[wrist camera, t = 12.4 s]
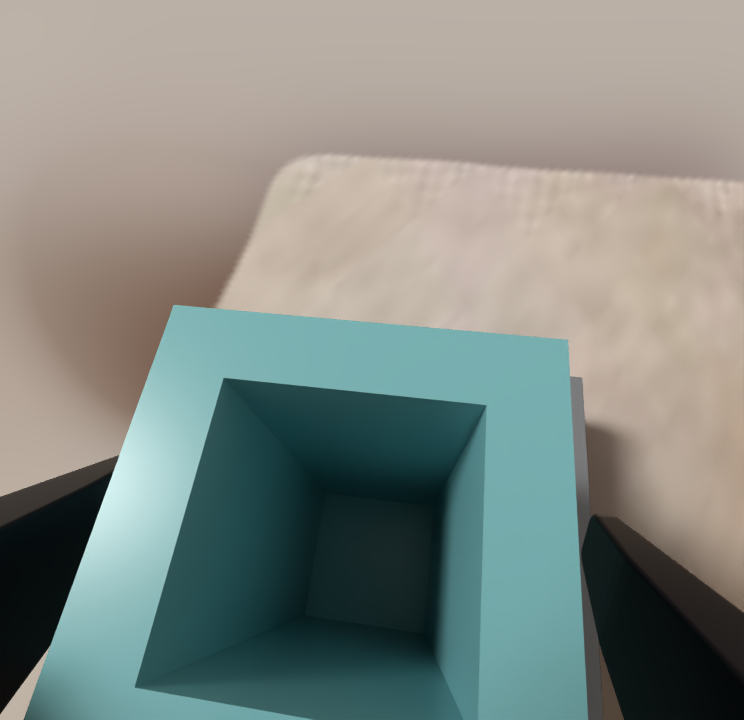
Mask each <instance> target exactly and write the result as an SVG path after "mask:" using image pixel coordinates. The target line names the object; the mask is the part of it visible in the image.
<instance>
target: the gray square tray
mask: <svg viewBox="0 0 744 720" xmlns="http://www.w3.org/2000/svg"><path fill="white" fill-rule="evenodd" d="M570 388H571V407H572V426H573V444H574V463H575V482H576V501H577V519H578V538H579V557H580V575H581V594H582V613H583V631H584V650H585V669H586V687H587V706H588V720H603V706H602V689H601V673H600V657H599V641H598V635H597V631H596V626H595V622H594V617H593V612H592V608H591V603H590V598H589V593H588V589H587V584H586V579H585V575H584V570H583V565H582V559H581V551H582V545H583V542H584V538H585V534H586V531H587V527H588V523H589V520H590V518H591V512H590V496H589V480H588V464H587V448H586V432H585V416H584V400H583V384H582V378H580V377H570Z"/></svg>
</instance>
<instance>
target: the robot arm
mask: <svg viewBox="0 0 744 720" xmlns="http://www.w3.org/2000/svg"><path fill="white" fill-rule="evenodd" d="M118 458H119V455H118V456H115V457H113V458H110V459H107V460H104V461H101V462H98V463H95V464H93V465H90V466H87V467H84V468H81V469H78V470H76V471H73V472H70V473H67V474H64V475H61V476H58V477H56V478H53V479H50V480H47V481H44V482H41V483H39V484H36V485H33V486H30V487H27V488H24V489H21V490H19V491H16V492H13V493H10V494H7V495H4V496H1V497H0V714H1V712H2V711H3V710H4V708H5V707H6V706H7V704H8V703H9V701H10V700H11V698H12V697H13V696H14V695H15V693H16V692H17V690H18V689H19V688H20V686H21V685H22V684H23V682H24V681H25V680H26V678H27V677H28V675H29V674H30V673H31V671H32V670H33V669H34V667H35V666H36V664H37V663H38V662H39V660H40V659H41V658H42V656H43V655H44V653H45V652H46V651H47V649H48V648H49V647H50V645H51V643H52V640H53V637H54V635H55V632H56V629H57V626H58V624H59V621H60V618H61V615H62V613H63V610H64V607H65V604H66V602H67V599H68V596H69V593H70V591H71V588H72V585H73V582H74V580H75V577H76V574H77V571H78V568H79V566H80V563H81V560H82V557H83V555H84V552H85V549H86V546H87V544H88V541H89V538H90V535H91V533H92V530H93V527H94V524H95V522H96V519H97V516H98V513H99V511H100V508H101V505H102V502H103V499H104V497H105V494H106V491H107V488H108V486H109V483H110V480H111V477H112V475H113V472H114V469H115V466H116V464H117V461H118ZM581 559H582V565H583V570H584V575H585V579H586V584H587V589H588V593H589V598H590V603H591V608H592V612H593V617H594V622H595V626H596V631H597V635H598V639H599V643H600V646H601V650H602V653H603V656H604V659H605V662H606V665H607V669H608V672H609V675H610V678H611V681H612V684H613V687H614V690H615V693H616V696H617V699H618V702H619V705H620V708H621V711H622V714H623V717H624V720H744V612H742V611H741V610H740V609H738V608H737V607H736V606H734V605H733V604H732V603H730V602H729V601H728V600H726V599H725V598H724V597H722V596H721V595H720V594H718V593H717V592H716V591H714V590H713V589H712V588H710V587H709V586H708V585H706V584H705V583H704V582H702V581H701V580H700V579H698V578H697V577H696V576H694V575H693V574H692V573H690V572H689V571H688V570H686V569H685V568H684V567H682V566H681V565H680V564H678V563H677V562H676V561H674V560H673V559H672V558H670V557H669V556H668V555H666V554H665V553H664V552H662V551H661V550H660V549H658V548H657V547H656V546H654V545H653V544H652V543H650V542H649V541H648V540H646V539H645V538H644V537H642V536H641V535H640V534H638V533H637V532H636V531H634V530H633V529H632V528H630V527H629V526H628V525H626V524H625V523H624V522H622V521H621V520H620V519H618V518H617V517H614V516H607V515H599V514H595V515H593V516H591V518H590V520H589V523H588V527H587V531H586V534H585V538H584V542H583V545H582V551H581Z"/></svg>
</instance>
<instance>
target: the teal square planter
mask: <svg viewBox="0 0 744 720" xmlns="http://www.w3.org/2000/svg"><path fill="white" fill-rule="evenodd" d="M24 720H588V706H587V687H586V669H585V650H584V631H583V613H582V594H581V575H580V557H579V538H578V519H577V501H576V482H575V463H574V444H573V426H572V407H571V388H570V370H569V351H568V340H563V339H552V338H541V337H529V336H518V335H507V334H496V333H484V332H473V331H462V330H450V329H439V328H428V327H417V326H405V325H394V324H383V323H371V322H360V321H349V320H337V319H326V318H315V317H304V316H292V315H281V314H270V313H258V312H247V311H236V310H225V309H213V308H202V307H190V306H178V305H174V306H173V309H172V312H171V315H170V317H169V320H168V323H167V326H166V328H165V331H164V334H163V337H162V340H161V343H160V345H159V348H158V350H157V353H156V356H155V359H154V361H153V364H152V367H151V370H150V373H149V375H148V378H147V381H146V384H145V386H144V389H143V392H142V395H141V397H140V400H139V403H138V406H137V409H136V411H135V414H134V417H133V420H132V423H131V425H130V428H129V430H128V433H127V436H126V439H125V441H124V444H123V447H122V450H121V453H120V455H119V458H118V461H117V464H116V466H115V469H114V472H113V475H112V477H111V480H110V483H109V486H108V488H107V491H106V494H105V497H104V499H103V502H102V505H101V508H100V511H99V513H98V516H97V519H96V522H95V524H94V527H93V530H92V533H91V535H90V538H89V541H88V544H87V546H86V549H85V552H84V555H83V557H82V560H81V563H80V566H79V568H78V571H77V574H76V577H75V580H74V582H73V585H72V588H71V591H70V593H69V596H68V599H67V602H66V604H65V607H64V610H63V613H62V615H61V618H60V621H59V624H58V626H57V629H56V632H55V635H54V637H53V640H52V643H51V646H50V649H49V651H48V654H47V657H46V660H45V662H44V665H43V668H42V671H41V673H40V676H39V679H38V682H37V684H36V687H35V690H34V693H33V695H32V698H31V701H30V704H29V706H28V709H27V712H26V715H25V718H24Z"/></svg>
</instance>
